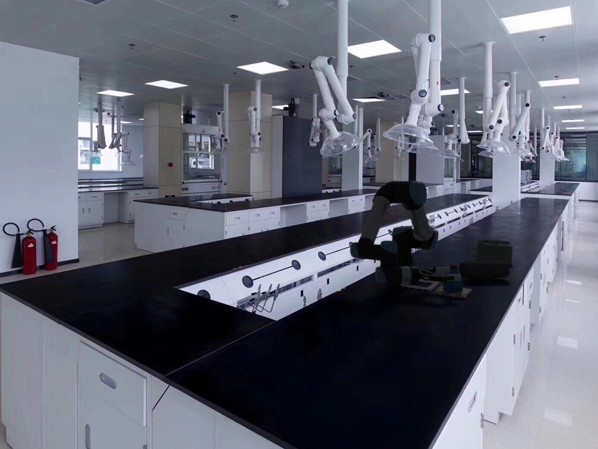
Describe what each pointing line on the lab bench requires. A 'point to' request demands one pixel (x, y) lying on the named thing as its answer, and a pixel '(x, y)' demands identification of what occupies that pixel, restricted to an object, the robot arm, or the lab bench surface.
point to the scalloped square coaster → (422, 287)
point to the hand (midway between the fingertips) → (455, 273)
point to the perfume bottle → (453, 285)
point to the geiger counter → (493, 251)
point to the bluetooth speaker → (484, 270)
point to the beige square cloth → (458, 294)
